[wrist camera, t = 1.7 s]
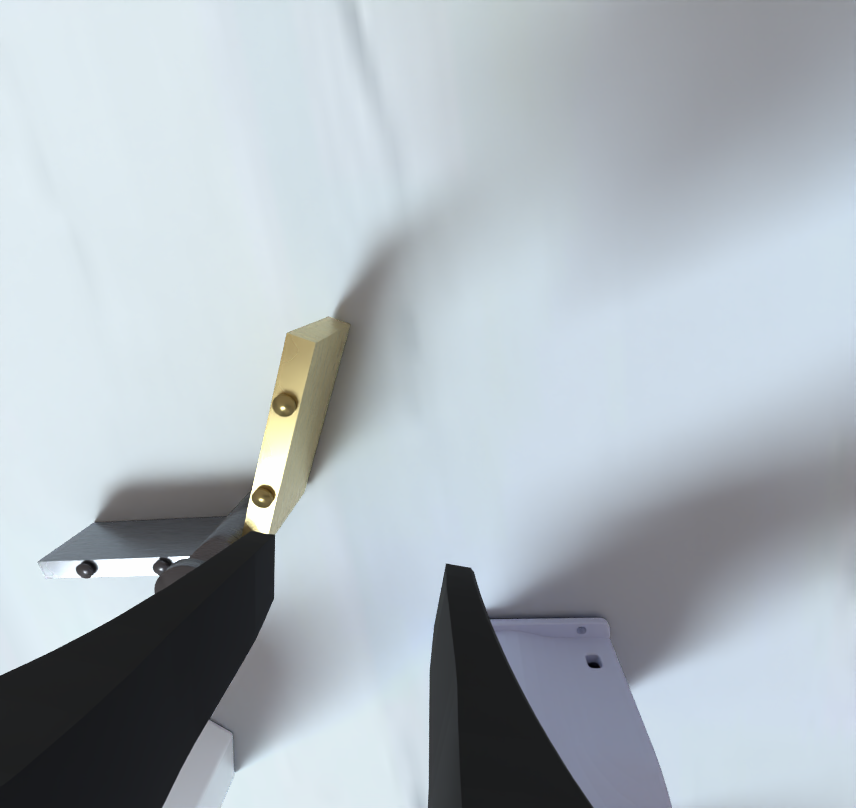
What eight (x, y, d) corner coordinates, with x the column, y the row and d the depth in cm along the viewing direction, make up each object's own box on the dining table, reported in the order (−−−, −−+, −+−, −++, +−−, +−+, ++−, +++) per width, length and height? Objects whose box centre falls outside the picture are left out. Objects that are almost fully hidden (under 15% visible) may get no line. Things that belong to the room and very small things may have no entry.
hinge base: (285, 478, 21) (211, 568, 15) (298, 529, 22) (232, 634, 16) (79, 489, 22) (-70, 577, 16) (99, 537, 23) (-34, 637, 17)
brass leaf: (304, 492, 21) (261, 553, 16) (285, 485, 21) (237, 545, 16) (350, 324, 18) (313, 343, 13) (328, 316, 18) (284, 333, 13)
